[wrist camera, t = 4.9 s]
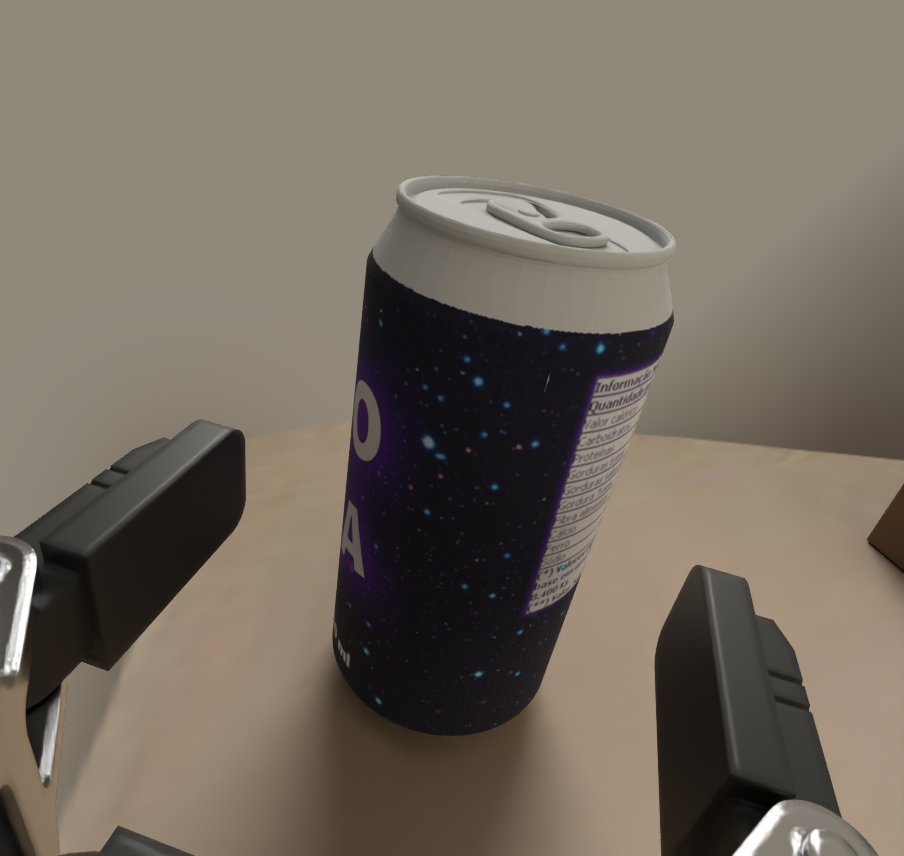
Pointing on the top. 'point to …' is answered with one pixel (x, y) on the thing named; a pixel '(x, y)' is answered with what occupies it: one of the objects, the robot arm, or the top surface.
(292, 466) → the top surface
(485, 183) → the beverage can
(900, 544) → the wooden serving tray
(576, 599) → the top surface
